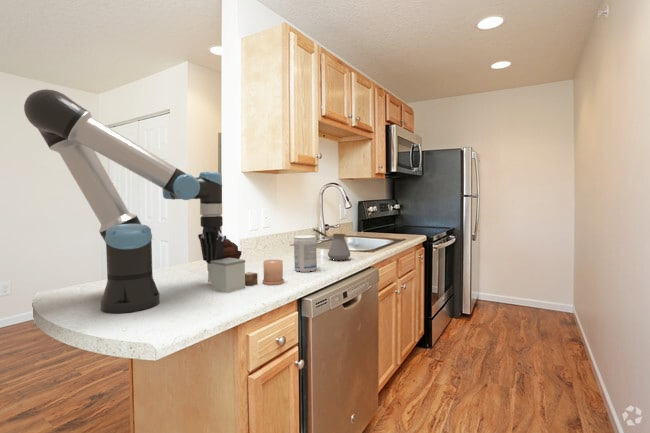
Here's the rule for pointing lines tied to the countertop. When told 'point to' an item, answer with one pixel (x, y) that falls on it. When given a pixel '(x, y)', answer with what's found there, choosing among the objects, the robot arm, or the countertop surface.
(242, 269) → the grey tub
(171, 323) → the countertop surface
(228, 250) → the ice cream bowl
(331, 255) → the coffee pot
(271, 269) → the terracotta pot
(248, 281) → the letter cube
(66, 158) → the robot arm
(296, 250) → the supplement tub
